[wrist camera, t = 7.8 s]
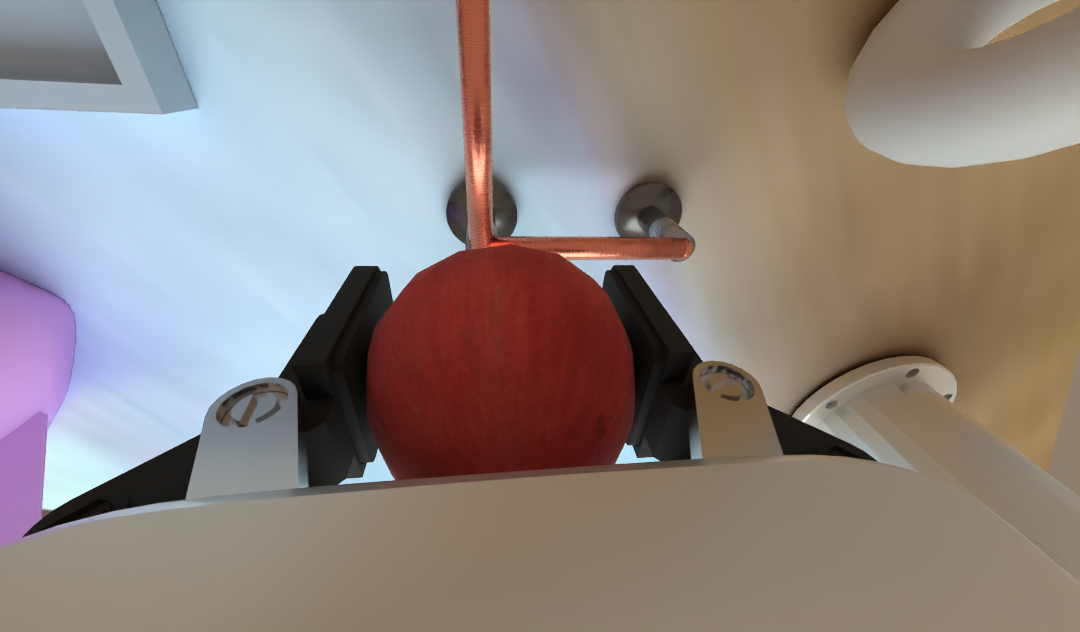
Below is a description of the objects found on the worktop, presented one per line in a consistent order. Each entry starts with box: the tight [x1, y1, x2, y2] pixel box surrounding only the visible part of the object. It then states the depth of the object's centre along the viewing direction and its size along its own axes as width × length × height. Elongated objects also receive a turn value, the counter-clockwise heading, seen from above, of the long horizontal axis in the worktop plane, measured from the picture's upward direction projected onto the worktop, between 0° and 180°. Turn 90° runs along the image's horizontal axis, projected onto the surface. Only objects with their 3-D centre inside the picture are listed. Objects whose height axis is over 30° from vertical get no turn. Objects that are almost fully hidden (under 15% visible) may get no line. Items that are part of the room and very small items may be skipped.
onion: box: [365, 244, 635, 480], centre depth 9 cm, size 6×6×8 cm
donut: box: [843, 0, 1080, 168], centre depth 11 cm, size 10×3×10 cm, turn 140°
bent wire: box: [446, 0, 695, 262], centre depth 13 cm, size 13×19×4 cm
